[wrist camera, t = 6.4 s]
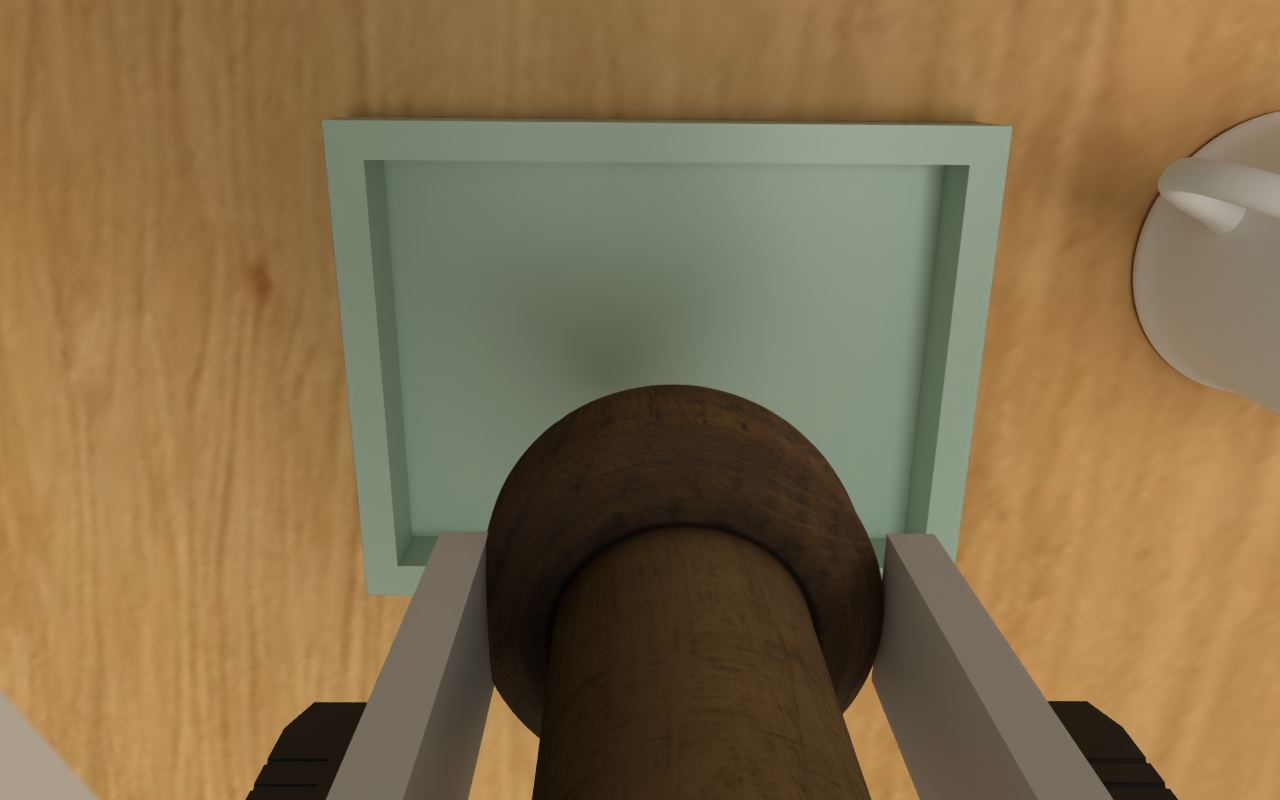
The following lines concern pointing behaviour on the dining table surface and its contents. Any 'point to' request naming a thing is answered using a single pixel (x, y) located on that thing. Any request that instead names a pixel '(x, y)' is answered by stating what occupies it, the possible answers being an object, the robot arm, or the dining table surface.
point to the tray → (657, 298)
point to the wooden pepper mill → (682, 603)
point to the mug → (1217, 264)
